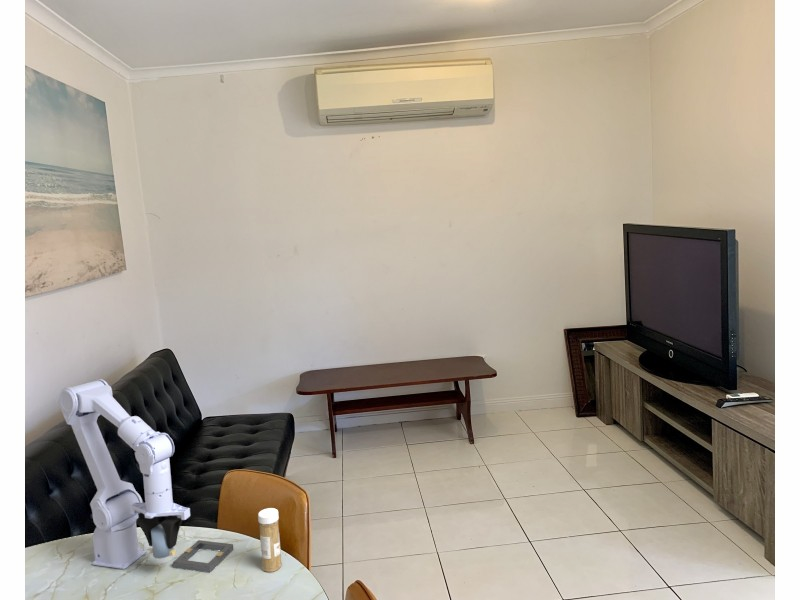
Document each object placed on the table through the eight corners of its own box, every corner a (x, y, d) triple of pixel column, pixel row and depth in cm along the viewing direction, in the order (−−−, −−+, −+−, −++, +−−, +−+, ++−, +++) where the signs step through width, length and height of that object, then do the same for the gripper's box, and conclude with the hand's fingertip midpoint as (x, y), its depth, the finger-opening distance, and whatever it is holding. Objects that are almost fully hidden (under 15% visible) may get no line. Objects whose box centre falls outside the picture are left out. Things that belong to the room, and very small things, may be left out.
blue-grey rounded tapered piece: (146, 556, 128) (143, 531, 128) (159, 546, 133) (156, 522, 132) (167, 559, 127) (165, 534, 126) (180, 549, 131) (178, 524, 130)
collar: (173, 567, 132) (173, 561, 132) (199, 545, 141) (198, 539, 141) (210, 572, 129) (209, 565, 129) (233, 549, 139) (233, 543, 139)
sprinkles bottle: (285, 568, 130) (281, 512, 129) (266, 575, 127) (261, 518, 126) (277, 559, 134) (273, 505, 132) (259, 566, 131) (255, 511, 130)
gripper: (118, 493, 126) (123, 551, 128) (174, 499, 122) (178, 558, 124) (140, 480, 133) (145, 535, 134) (193, 485, 129) (198, 541, 131)
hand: (162, 545), depth 129 cm, fingers closed on blue-grey rounded tapered piece, 4 cm apart
